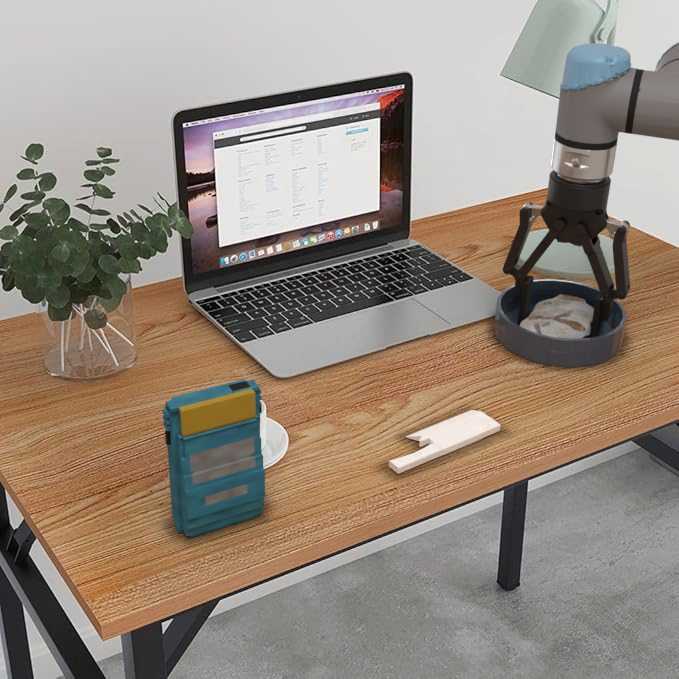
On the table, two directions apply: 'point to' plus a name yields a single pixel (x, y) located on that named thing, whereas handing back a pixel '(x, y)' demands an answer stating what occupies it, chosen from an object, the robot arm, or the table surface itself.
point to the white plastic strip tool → (446, 438)
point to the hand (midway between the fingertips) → (557, 330)
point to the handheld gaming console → (215, 457)
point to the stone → (561, 317)
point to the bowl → (556, 348)
